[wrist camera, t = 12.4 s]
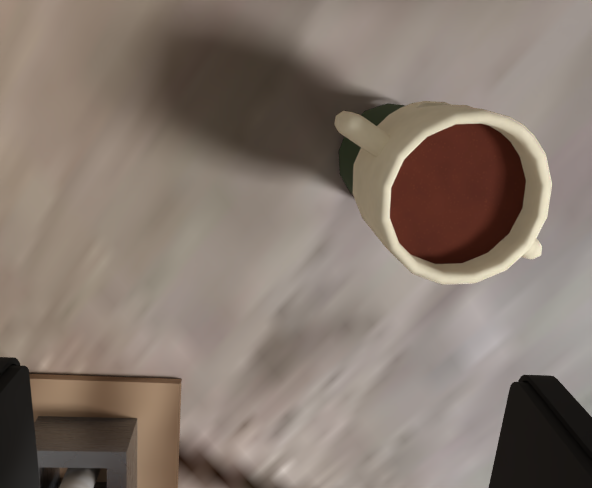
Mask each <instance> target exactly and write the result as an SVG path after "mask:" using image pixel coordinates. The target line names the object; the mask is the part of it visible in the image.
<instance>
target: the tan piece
mask: <svg viewBox="0 0 592 488" xmlns="http://www.w3.org/2000/svg"><path fill="white" fill-rule="evenodd" d="M29 376H30V386H31V396H32V406H33V417H34V422H35V421H36V419H37V418H38V416H61V417H102V418H137V488H178V467H179V436H180V406H181V379H166V378H137V377H108V376H80V375H51V374H29ZM60 482H61V484H60V486H59V488H94V485H95V483H96V482H107V468H60Z"/></svg>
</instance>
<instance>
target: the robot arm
mask: <svg viewBox="0 0 592 488" xmlns="http://www.w3.org/2000/svg"><path fill="white" fill-rule="evenodd" d="M0 488H40V478H39V468H38V457H37V447H36V437H35V427H34V417H33V406H32V396H31V386H30V376H29V370H28V368H27V367H26V366H20V363H19V361H18V359H16V358H7V357H0ZM489 488H592V417H591V416H590V415H589V414H588V413H587V412H586V410H585V409H584V408H583V407H582V406H581V405H580V404H579V403H578V402H577V401H576V399H575V398H574V397H573V396H572V395H571V394H570V393H569V392H568V391H567V389H566V388H565V387H564V386H563V385H562V384H561V383H560V382H559V381H558V379H556V378H555V377H554V376H542V375H523V376H521V378H520V379H519V381H518V382H514V383H512V385H511V387H510V390H509V395H508V399H507V404H506V409H505V414H504V418H503V423H502V428H501V432H500V437H499V442H498V447H497V451H496V456H495V461H494V465H493V470H492V475H491V479H490V484H489Z"/></svg>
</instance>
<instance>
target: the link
mask: <svg viewBox="0 0 592 488" xmlns="http://www.w3.org/2000/svg"><path fill="white" fill-rule="evenodd" d="M34 427H35V437H36V447H37V457H38V468H39V478H40V488H59V486H60V484H61V482H60V468H107V482H96V483H95V485H94V488H137V418H102V417H61V416H38V418H37V419H36V421H35V422H34Z"/></svg>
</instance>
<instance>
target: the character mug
mask: <svg viewBox="0 0 592 488" xmlns="http://www.w3.org/2000/svg"><path fill="white" fill-rule="evenodd" d="M334 125H335V127H336V128H337V130H338V132H339V133H341V134H342V135H343V136H345V137H344V139H343V142H342V144H341V147H340V149H339V165H340V175H341V177H342V179H343V180H344V182H345V184H346V186H347V188H348V189H349V191H350V193H351V194H353V195H354V198H355V200H356V203H357V206H358V208H359V211H360V213H361V216H362V218H363V219H364V221H365V222H366V223H367V224H368V226H369V227H370V228H371V229H372V231H373V232H374V233H375V234H376V236H377V237H378V238H379V239H380V241H381V242H382V243H383V244H384V246H385V247H386V248H387V249H388V250H389V251H390V252H391V253H392V254H393V255H394V256H395V257H396V258H397V259H398V260H399V261H400V262H401V263H402V264H403V265H404V266H405V267H406V268H407V269H408V270H409V271H410V272H411V273H412V274H414V275H417V276H420V277H423V278H425V279H428V280H431V281H433V282H436V283H439V284H442V285H447V284H471V283H477V282H479V281H482V280H484V279H486V278H489V277H491V276H494V275H496V274H498V273H501V272H503V271H506V270H507V269H508V268H509V267H510V266H511V265H512V264H514V263H515V262H516V261H517V260H518V259H519V258H520V257H523V258H527V259H534V258H536V257H539V256H541V251H542V246H541V244H540V243H539V241H538V240H537V236H538V234H539V232H540V230H541V228H542V226H543V224H544V222H545V220H546V218H547V215H548V208H549V201H550V195H551V188H552V181H551V177H550V172H549V167H548V162H547V157H546V154H545V152H544V151H543V149H542V147H541V146H540V144H539V142H538V141H537V139H536V138H535V136H534V135H533V134H532V133H531V132H530V131H529V130H528V129H527V128H526V127H525V126H524V125H523V124H521V123H519V122H518V121H516V120H514V119H512V118H510V117H508V116H504V115H501V114H498V113H494V112H491V111H487V110H483V109H477V108H472V107H470V106H467V105H450V104H448V103H445V102H430V101H423V102H417V103H412V104H409V105H406V106H404V105H395V104H385V105H382V106H379V107H376V108H373V109H370V110H367V111H364V112H363V113H362V115H359V114H356V113H353V112H348V111H342V112H341V113H339V114H338V115H336V118H335V123H334Z"/></svg>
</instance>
